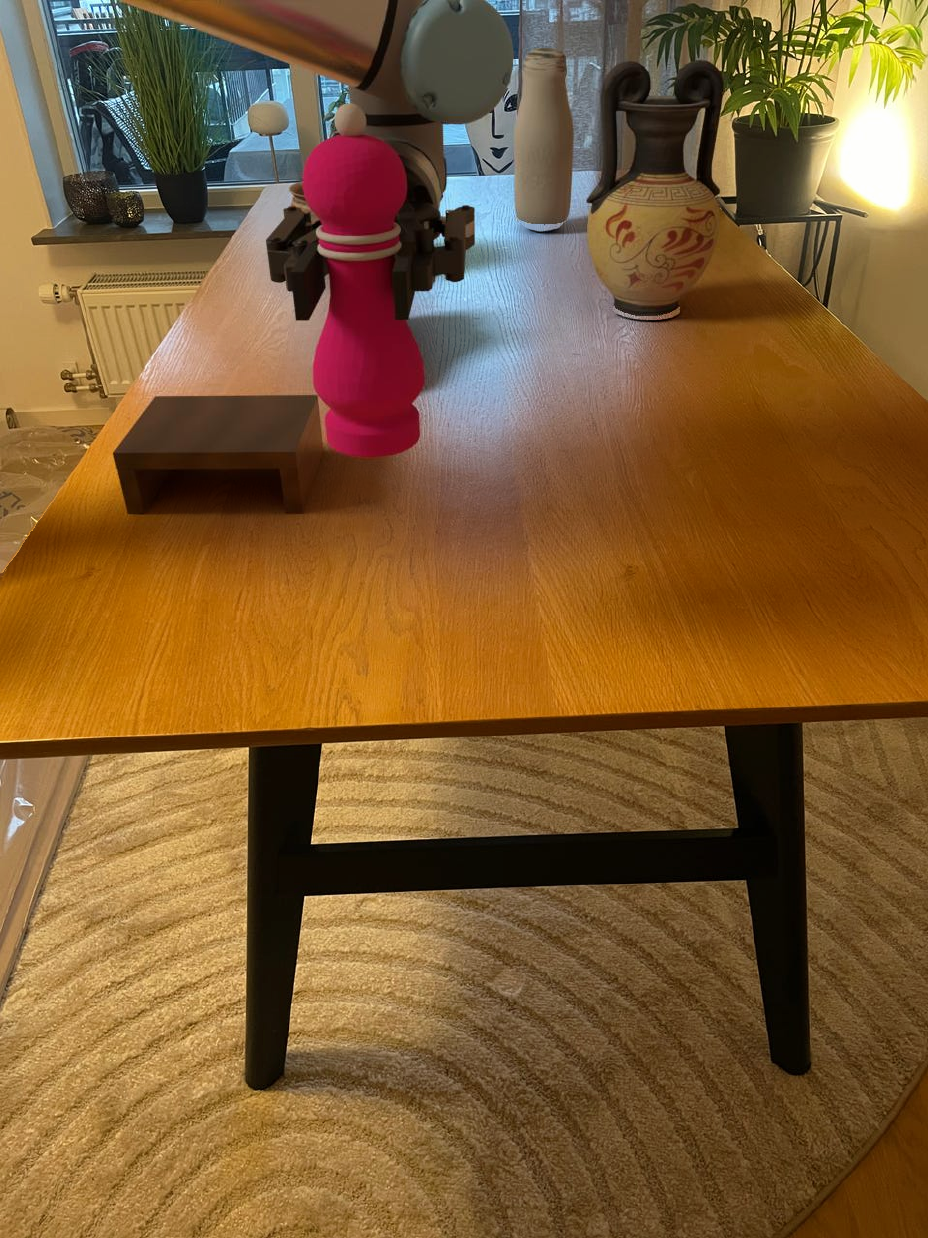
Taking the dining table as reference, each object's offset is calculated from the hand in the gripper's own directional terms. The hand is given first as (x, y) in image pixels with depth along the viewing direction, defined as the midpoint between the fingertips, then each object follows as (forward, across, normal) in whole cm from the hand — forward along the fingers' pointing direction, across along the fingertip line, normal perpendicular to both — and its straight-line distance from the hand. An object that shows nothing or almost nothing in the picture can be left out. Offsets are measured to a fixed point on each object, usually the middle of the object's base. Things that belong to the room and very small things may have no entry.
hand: (350, 295), depth 54 cm
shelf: (-28, +17, -26) cm, 42 cm away
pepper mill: (-5, 0, -11) cm, 12 cm away
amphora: (-79, -29, -26) cm, 88 cm away
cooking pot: (-102, +14, -26) cm, 106 cm away
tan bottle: (-126, -16, -26) cm, 130 cm away
